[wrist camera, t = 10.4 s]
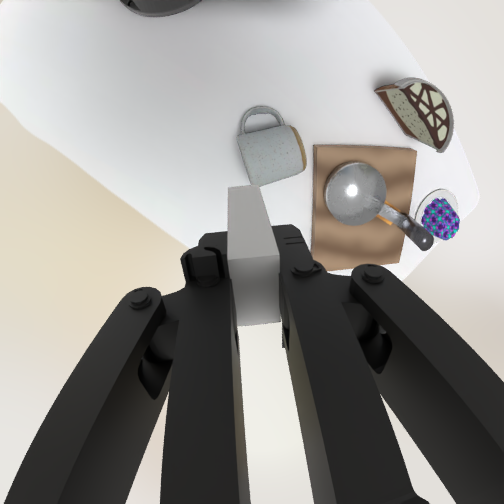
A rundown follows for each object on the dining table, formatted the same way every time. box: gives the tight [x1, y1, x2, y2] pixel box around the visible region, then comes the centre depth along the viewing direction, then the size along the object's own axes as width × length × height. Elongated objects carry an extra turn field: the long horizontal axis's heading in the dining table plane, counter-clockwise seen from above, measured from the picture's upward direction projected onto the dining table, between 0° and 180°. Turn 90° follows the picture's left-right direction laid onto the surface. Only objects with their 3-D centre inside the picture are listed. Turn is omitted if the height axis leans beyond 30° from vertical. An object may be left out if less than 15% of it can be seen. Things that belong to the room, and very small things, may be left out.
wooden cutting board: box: [311, 145, 417, 271], centre depth 46 cm, size 22×18×2 cm
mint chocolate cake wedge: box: [374, 78, 454, 153], centre depth 33 cm, size 12×6×10 cm, turn 46°
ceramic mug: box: [237, 106, 307, 187], centre depth 37 cm, size 11×8×8 cm
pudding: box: [415, 190, 460, 243], centre depth 47 cm, size 12×12×5 cm
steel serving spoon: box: [324, 161, 434, 251], centre depth 40 cm, size 18×10×8 cm, turn 65°
